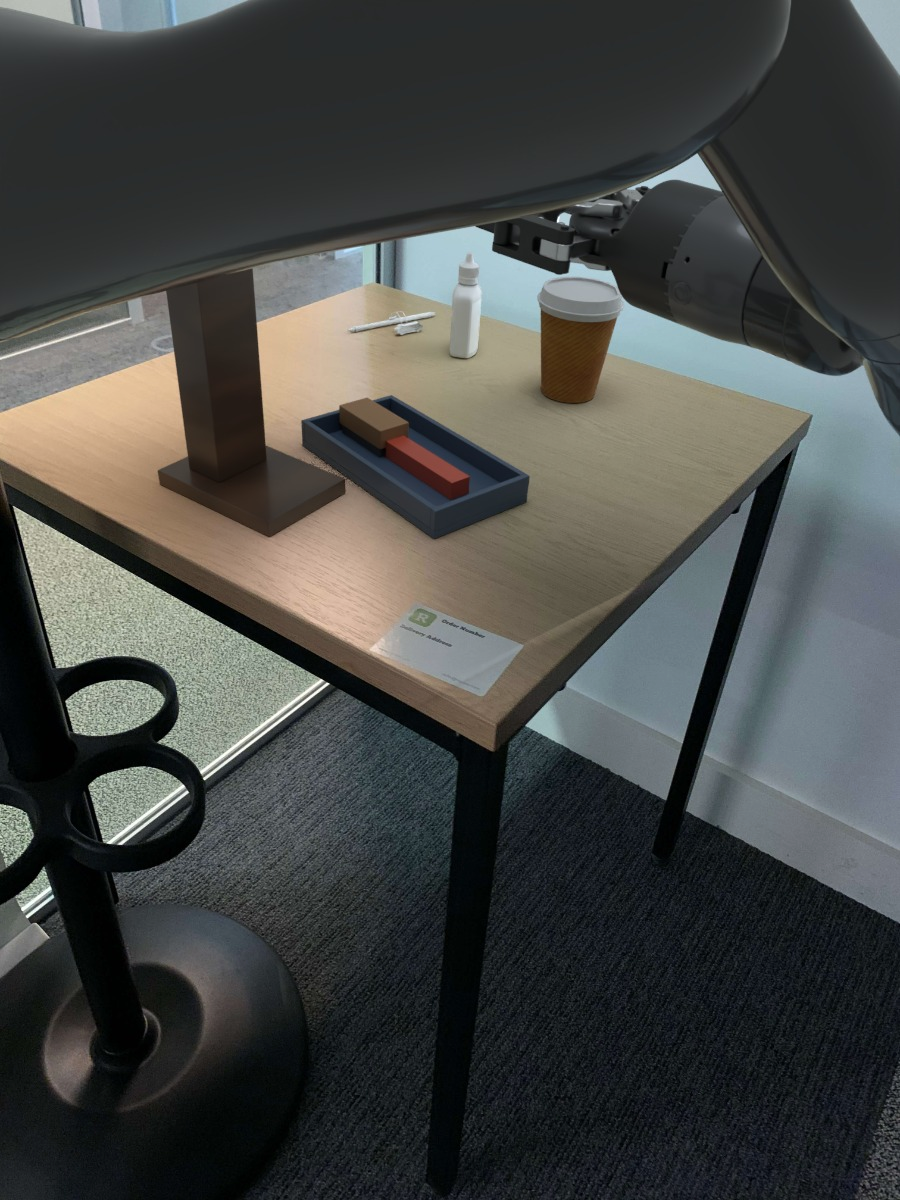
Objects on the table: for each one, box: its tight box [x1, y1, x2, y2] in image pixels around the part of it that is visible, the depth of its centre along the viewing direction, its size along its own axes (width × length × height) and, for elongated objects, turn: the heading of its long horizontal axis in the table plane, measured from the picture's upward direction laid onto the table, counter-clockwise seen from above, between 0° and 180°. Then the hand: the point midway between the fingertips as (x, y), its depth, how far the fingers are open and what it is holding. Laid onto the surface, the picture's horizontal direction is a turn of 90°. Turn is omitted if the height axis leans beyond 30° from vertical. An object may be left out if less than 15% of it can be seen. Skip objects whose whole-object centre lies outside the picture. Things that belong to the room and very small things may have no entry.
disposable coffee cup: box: [536, 276, 625, 404], centre depth 102 cm, size 10×10×12 cm
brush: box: [338, 397, 470, 500], centre depth 87 cm, size 17×4×3 cm, turn 40°
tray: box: [300, 394, 531, 540], centre depth 87 cm, size 21×11×3 cm, turn 40°
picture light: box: [347, 310, 437, 336], centre depth 119 cm, size 14×4×2 cm, turn 127°
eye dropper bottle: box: [449, 251, 483, 359], centre depth 111 cm, size 4×6×12 cm
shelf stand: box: [157, 268, 347, 538], centre depth 74 cm, size 14×10×32 cm
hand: (523, 200), depth 62 cm, fingers open, 8 cm apart
